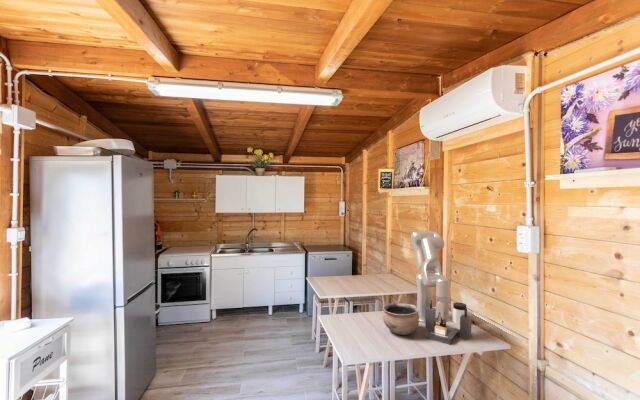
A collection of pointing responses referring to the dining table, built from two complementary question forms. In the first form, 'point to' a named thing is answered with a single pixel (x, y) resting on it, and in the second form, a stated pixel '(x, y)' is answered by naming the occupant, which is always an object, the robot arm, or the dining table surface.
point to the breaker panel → (447, 339)
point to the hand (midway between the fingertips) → (442, 329)
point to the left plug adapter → (430, 316)
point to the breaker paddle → (440, 330)
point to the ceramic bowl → (401, 317)
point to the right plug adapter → (465, 325)
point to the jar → (458, 311)
